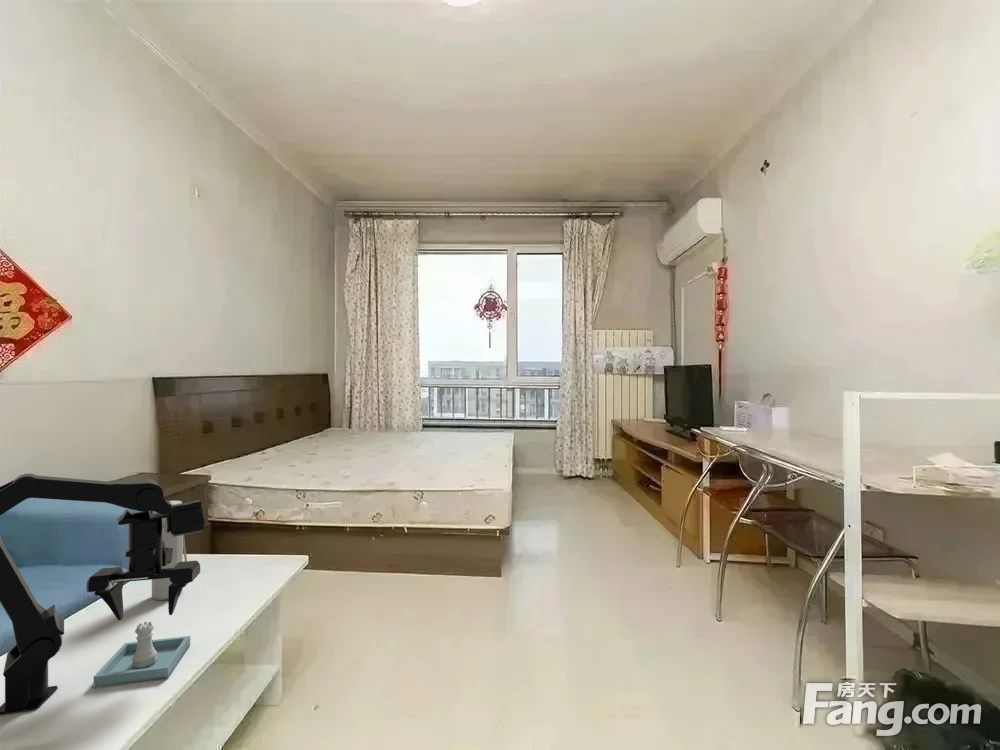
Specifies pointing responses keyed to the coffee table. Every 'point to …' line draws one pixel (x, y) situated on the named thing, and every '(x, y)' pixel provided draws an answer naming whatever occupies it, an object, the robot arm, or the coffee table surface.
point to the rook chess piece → (144, 647)
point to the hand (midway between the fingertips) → (146, 616)
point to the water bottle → (178, 546)
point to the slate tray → (125, 673)
